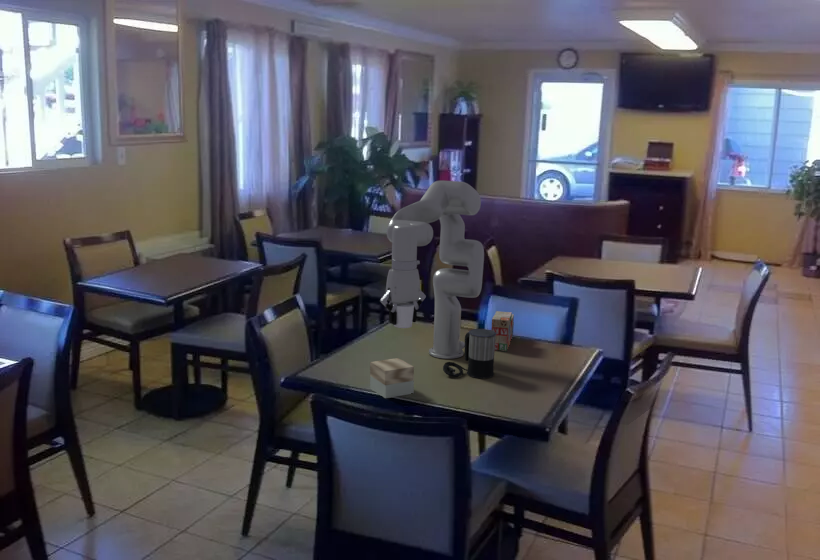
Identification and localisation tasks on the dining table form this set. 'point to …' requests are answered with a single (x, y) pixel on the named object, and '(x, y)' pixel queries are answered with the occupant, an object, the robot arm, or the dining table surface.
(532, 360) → the dining table surface
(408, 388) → the tower bottom
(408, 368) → the tower top
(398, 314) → the white cylinder
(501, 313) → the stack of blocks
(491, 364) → the milk frother
